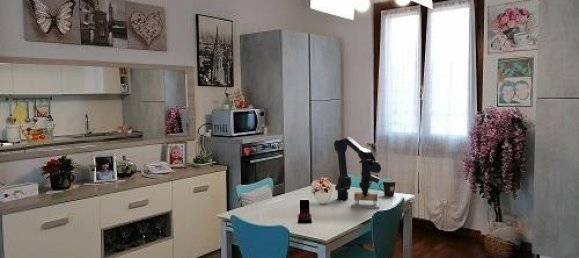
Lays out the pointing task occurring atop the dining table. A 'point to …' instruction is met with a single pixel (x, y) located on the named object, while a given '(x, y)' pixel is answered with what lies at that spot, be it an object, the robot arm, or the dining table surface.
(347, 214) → the dining table surface
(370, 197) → the shelf board
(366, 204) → the peg plate
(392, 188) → the coffee mug
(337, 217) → the dining table surface
